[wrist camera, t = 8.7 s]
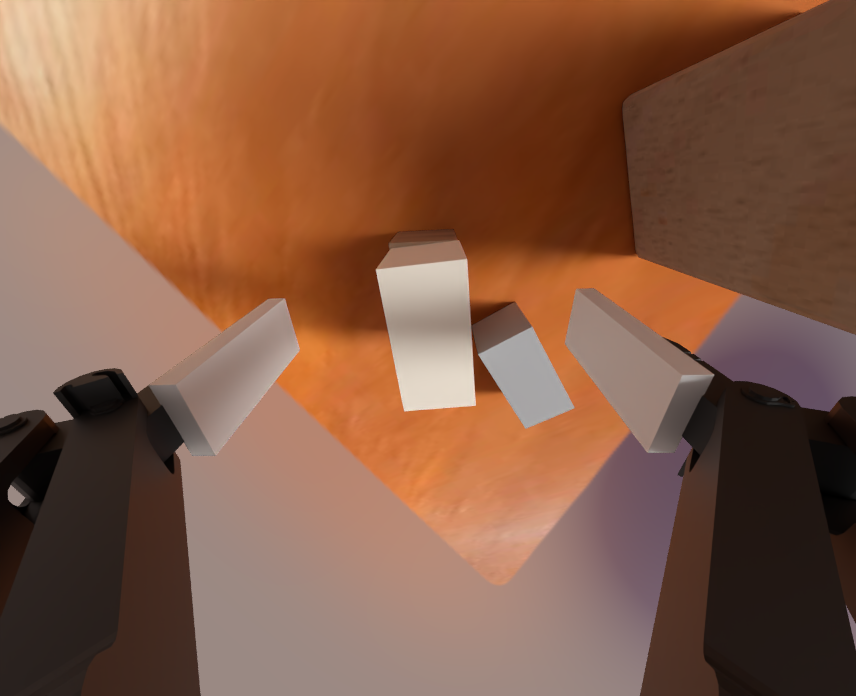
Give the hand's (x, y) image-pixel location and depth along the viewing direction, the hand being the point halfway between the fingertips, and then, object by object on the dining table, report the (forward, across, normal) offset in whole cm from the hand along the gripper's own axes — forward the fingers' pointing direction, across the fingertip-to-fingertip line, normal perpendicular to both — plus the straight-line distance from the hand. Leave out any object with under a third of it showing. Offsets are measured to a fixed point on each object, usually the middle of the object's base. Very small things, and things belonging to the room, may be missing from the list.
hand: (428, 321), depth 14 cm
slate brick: (+10, +7, -8) cm, 14 cm away
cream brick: (+5, 0, -2) cm, 6 cm away
